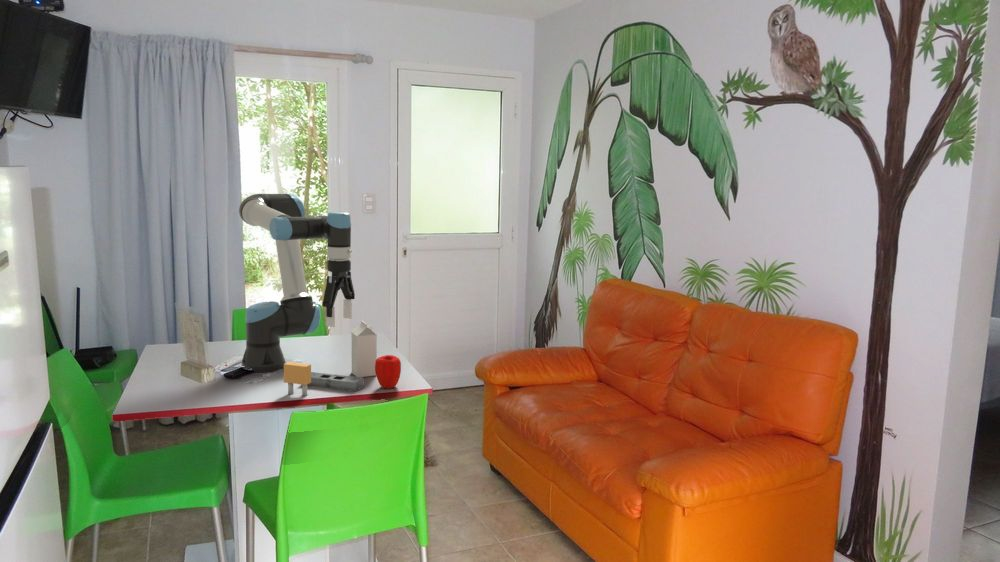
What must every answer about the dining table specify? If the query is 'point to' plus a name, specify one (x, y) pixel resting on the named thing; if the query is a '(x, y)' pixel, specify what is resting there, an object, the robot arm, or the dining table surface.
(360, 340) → the milk carton
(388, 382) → the apple
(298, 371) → the clip
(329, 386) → the grey flat block
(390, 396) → the dining table surface
